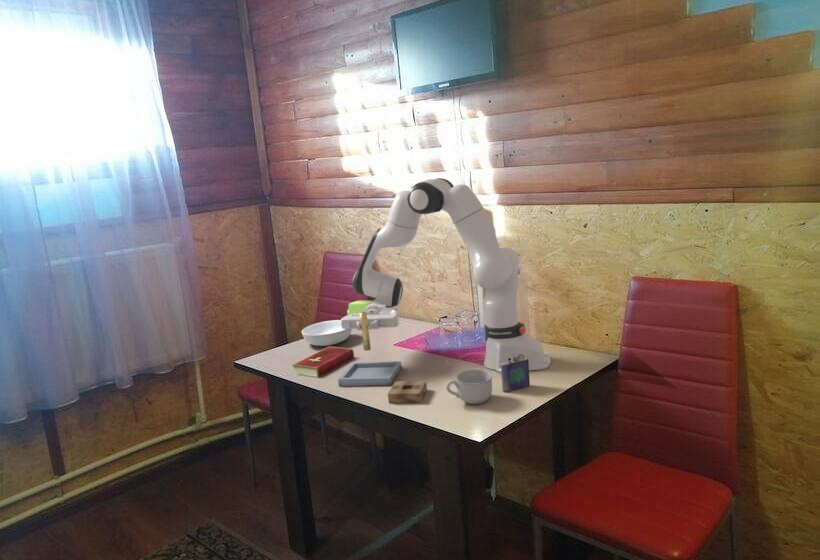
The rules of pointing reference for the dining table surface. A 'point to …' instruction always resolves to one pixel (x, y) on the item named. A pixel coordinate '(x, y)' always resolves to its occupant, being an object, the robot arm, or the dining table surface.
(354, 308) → the gearbox
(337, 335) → the serving bowl
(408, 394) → the pin block
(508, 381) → the flask
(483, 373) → the teacup
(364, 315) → the pin
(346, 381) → the tray
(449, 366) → the dining table surface
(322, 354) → the hardcover book
